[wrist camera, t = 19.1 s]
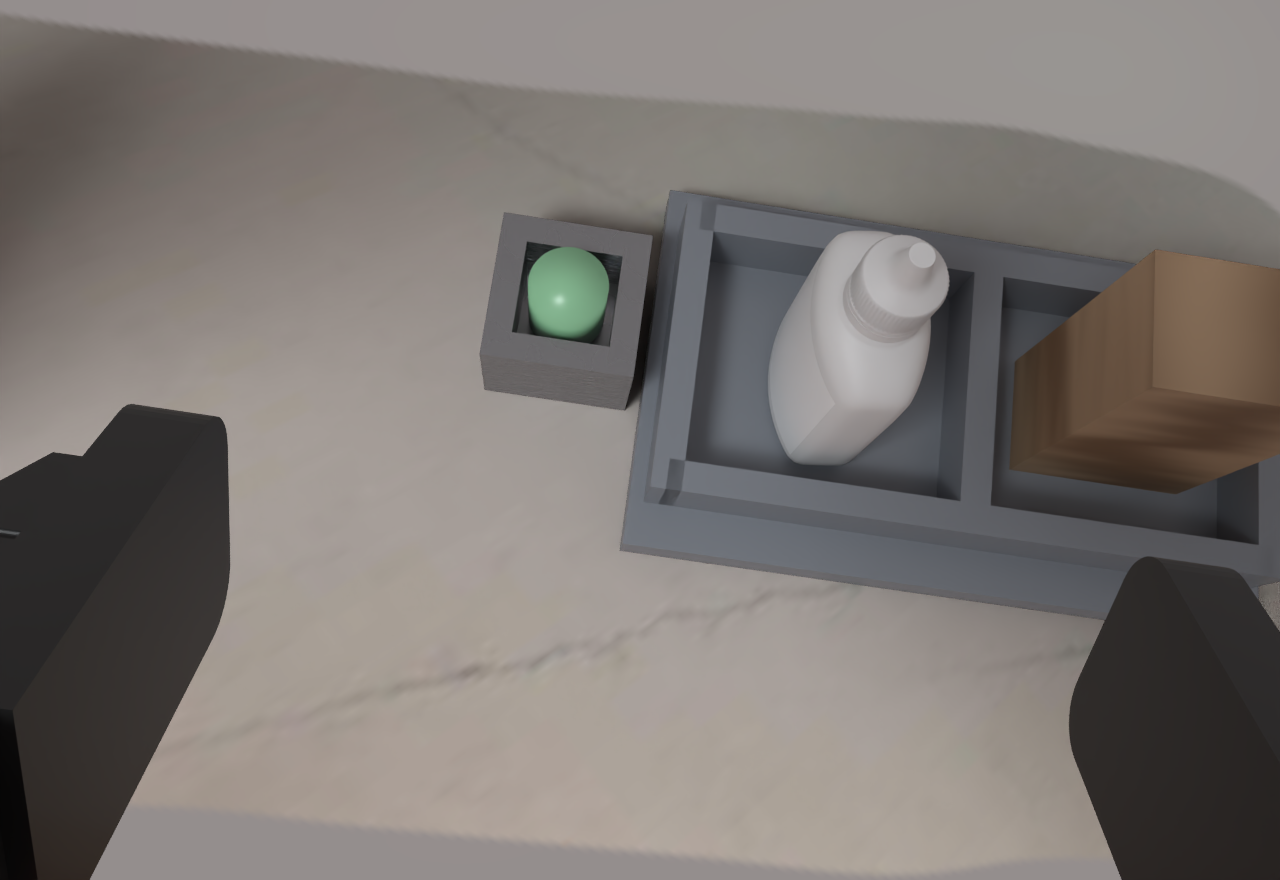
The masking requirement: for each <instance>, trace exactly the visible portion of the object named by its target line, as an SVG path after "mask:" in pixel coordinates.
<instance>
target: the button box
mask: <svg viewBox="0 0 1280 880" xmlns="http://www.w3.org/2000/svg"><path fill="white" fill-rule="evenodd" d="M652 239H653V236H652V235H646V234H639V233H633V232H626V231H620V230H614V229H607V228H601V227H594V226H588V225H582V224H575V223H569V222H563V221H556V220H550V219H543V218H537V217H531V216H524V215H518V214H511V213H505V212H504V216H503V222H502V228H501V234H500V239H499V245H498V251H497V257H496V262H495V268H494V274H493V280H492V285H491V291H490V297H489V303H488V308H487V314H486V320H485V326H484V332H483V337H482V343H481V349H480V360H481V367H482V375H483V382H484V389H485V390H490V391H497V392H504V393H511V394H517V395H524V396H531V397H537V398H544V399H551V400H558V401H564V402H571V403H578V404H584V405H591V406H598V407H605V408H611V409H618V410H625V407H626V403H627V399H628V396H629V392H630V388H631V384H632V381H633V377H634V370H635V362H636V355H637V348H638V341H639V333H640V326H641V319H642V312H643V304H644V297H645V290H646V283H647V275H648V268H649V261H650V254H651V246H652ZM561 247H575V248H579V249H582V250H585V251H587V252H589V253H591V254H592V255H594V256H595V257H596V258H597V259H598V260H599V261H600V262H601V263H602V265H603V266H604V268H605V270H606V272H607V275H608V280H609V292H608V298H607V304H606V310H605V316H604V322H603V326H602V329H601V331H600V333H599V334H598V336H597V337H596V338H595V339H594V340H593V341H592V342H591V343H590V344H588V343H581V342H574V341H568V340H561V339H555V338H548V337H541V336H536V335H535V334H534V332H533V331H532V328H531V326H530V323H529V315H528V278H529V274H530V271H531V269H532V267H533V265H534V264H535V262H536V261H537V260H538V259H539V258H540V257H541V256H542V255H544V254H545V253H547V252H549V251H551V250H553V249H556V248H561Z"/></svg>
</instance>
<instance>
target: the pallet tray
mask: <svg viewBox="0 0 1280 880" xmlns="http://www.w3.org/2000/svg"><path fill="white" fill-rule="evenodd" d="M847 231H880V232H888V233H891V234H893V235H901V234H902V235H908V236H910V235H911V236H913V237H917V238H920V239H921V240H924V241H925V242H928V243H929V244H930V245H932V246H933V247H934V248H936V251H938V252H939V254H940V255H942V258H943V259H944V262H945V263H946V266H947V268H948V269H947V270H948V272H949V273H948V275H949V276H950V277H949V280H950V282H949V285H950V286H949V287H948V289H949V291H948V292H947V294H948V295H947V296H946V299H945V300H944V303H943V304H942V305H941V306H940V308H939V309H938V310H937V311H936V312H935V313H934V314H933V315H932V316H931V334H930V345H929V352H928V357H927V362H926V366H925V370H924V373H923V376H922V379H921V382H920V385H919V387H918V390H917V392H916V394H915V396H914V398H913V400H912V402H911V403H910V405H909V406H908V407H907V408H906V409H905V410H904V412H903V413H902V414H901V415H900V416H899V417H898V418H897V419H896V420H895V421H894V422H893V423H892V424H891V425H890V426H888V427H887V428H886V429H885V430H884V431H883V432H882V433H881V434H880V435H879V436H878V437H877V438H875V439H874V440H873V441H872V442H871V443H870V444H869V445H868V446H867V447H865V448H864V449H863V450H862V451H861V452H860V453H859V454H858V455H857V456H855V457H854V458H853V459H852V460H851V461H850V462H849V463H846V464H843V465H833V466H828V465H802V464H798V463H795V462H793V461H792V460H791V459H790V458H789V457H788V456H787V454H786V452H785V451H784V449H783V447H782V444H781V442H780V440H779V437H778V435H777V432H776V429H775V426H774V423H773V419H772V415H771V410H770V405H769V397H768V370H769V362H770V357H771V352H772V348H773V344H774V340H775V337H776V334H777V332H778V329H779V326H780V324H781V322H782V320H783V318H784V316H785V314H786V313H787V311H788V309H789V308H790V306H791V304H792V302H793V301H794V299H795V297H796V296H797V294H798V292H799V291H800V289H801V287H802V285H803V284H804V282H805V280H806V279H807V277H808V275H809V274H810V272H811V270H812V269H813V267H814V265H815V264H816V262H817V260H818V259H819V257H820V256H821V254H822V252H823V251H824V249H825V248H826V246H827V245H828V244H829V243H830V242H831V241H832V240H833V239H834V238H835V237H836V236H837V235H838V234H841V233H844V232H847ZM1135 265H1136V264H1133V263H1127V262H1121V261H1114V260H1108V259H1102V258H1095V257H1089V256H1083V255H1076V254H1070V253H1064V252H1058V251H1051V250H1045V249H1039V248H1032V247H1026V246H1020V245H1013V244H1007V243H1001V242H994V241H988V240H982V239H976V238H969V237H963V236H957V235H950V234H944V233H938V232H931V231H925V230H919V229H912V228H906V227H900V226H894V225H887V224H881V223H875V222H868V221H862V220H856V219H849V218H843V217H837V216H830V215H824V214H818V213H812V212H805V211H799V210H793V209H786V208H780V207H774V206H767V205H761V204H755V203H748V202H742V201H736V200H730V199H723V198H717V197H711V196H704V195H698V194H692V193H685V192H679V191H673V190H670V194H669V198H668V202H667V207H666V213H665V220H664V227H663V235H662V242H661V250H660V257H659V264H658V272H657V279H656V286H655V294H654V301H653V309H652V316H651V323H650V331H649V338H648V345H647V353H646V360H645V368H644V375H643V382H642V390H641V397H640V404H639V412H638V419H637V427H636V434H635V441H634V449H633V456H632V463H631V471H630V478H629V486H628V493H627V500H626V508H625V515H624V522H623V530H622V537H621V545H620V551H626V552H633V553H640V554H647V555H654V556H661V557H668V558H675V559H682V560H689V561H696V562H703V563H710V564H717V565H724V566H731V567H738V568H745V569H752V570H759V571H766V572H773V573H780V574H787V575H794V576H801V577H808V578H815V579H822V580H829V581H836V582H843V583H850V584H857V585H864V586H871V587H878V588H885V589H892V590H899V591H906V592H913V593H920V594H927V595H934V596H941V597H948V598H955V599H962V600H969V601H976V602H983V603H990V604H997V605H1004V606H1011V607H1018V608H1025V609H1032V610H1039V611H1046V612H1053V613H1060V614H1067V615H1074V616H1081V617H1088V618H1095V619H1102V620H1106V617H1107V615H1108V613H1109V611H1110V609H1111V606H1112V604H1113V602H1114V600H1115V598H1116V596H1117V593H1118V591H1119V589H1120V587H1121V585H1122V582H1123V580H1124V578H1125V576H1126V574H1127V572H1128V571H1129V570H1130V568H1131V567H1132V565H1133V564H1134V563H1135V562H1136V561H1138V560H1139V559H1141V558H1143V557H1146V556H1150V557H1158V558H1165V559H1172V560H1178V561H1185V562H1192V563H1199V564H1206V565H1212V566H1219V567H1226V568H1231V569H1233V570H1235V571H1237V572H1238V573H1239V574H1240V575H1241V576H1242V577H1243V578H1244V580H1245V581H1246V583H1247V584H1248V586H1249V587H1250V589H1251V590H1252V591H1253V593H1254V594H1255V596H1256V597H1257V599H1258V586H1261V585H1266V584H1271V583H1275V582H1280V454H1278V455H1276V456H1273V457H1271V458H1268V459H1266V460H1263V461H1260V462H1258V463H1255V464H1253V465H1250V466H1248V467H1245V468H1242V469H1240V470H1237V471H1235V472H1232V473H1230V474H1227V475H1225V476H1222V477H1219V478H1217V479H1214V480H1212V481H1209V482H1207V483H1204V484H1201V485H1199V486H1196V487H1194V488H1191V489H1189V490H1186V491H1183V492H1181V493H1178V494H1169V493H1163V492H1156V491H1149V490H1142V489H1136V488H1129V487H1122V486H1116V485H1109V484H1102V483H1095V482H1089V481H1082V480H1075V479H1068V478H1062V477H1055V476H1048V475H1042V474H1035V473H1028V472H1021V471H1015V470H1009V466H1010V446H1011V427H1012V408H1013V389H1014V370H1015V361H1016V360H1017V359H1019V358H1020V357H1021V356H1022V355H1024V354H1025V353H1026V352H1027V351H1029V350H1030V349H1031V348H1032V347H1034V346H1035V345H1036V344H1037V343H1039V342H1040V341H1041V340H1042V339H1044V338H1045V337H1046V336H1047V335H1049V334H1050V333H1051V332H1052V331H1054V330H1055V329H1056V328H1057V327H1059V326H1060V325H1061V324H1063V323H1064V322H1065V321H1066V320H1068V319H1069V318H1070V317H1071V316H1073V315H1074V314H1075V313H1076V312H1078V311H1079V310H1080V309H1081V308H1083V307H1084V306H1085V305H1086V304H1088V303H1089V302H1090V301H1091V300H1093V299H1094V298H1095V297H1096V296H1098V295H1099V294H1100V293H1101V292H1103V291H1104V290H1105V289H1106V288H1108V287H1109V286H1110V285H1111V284H1113V283H1114V282H1115V281H1116V280H1118V279H1119V278H1120V277H1121V276H1123V275H1124V274H1125V273H1126V272H1128V271H1129V270H1130V269H1131V268H1133V267H1134V266H1135Z"/></svg>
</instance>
